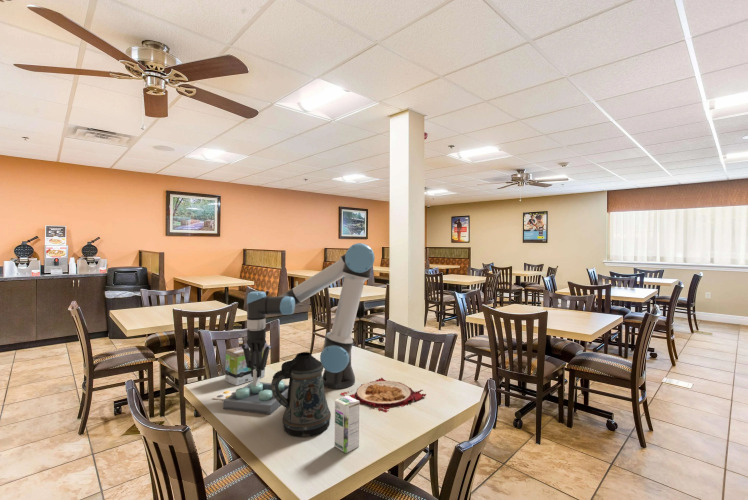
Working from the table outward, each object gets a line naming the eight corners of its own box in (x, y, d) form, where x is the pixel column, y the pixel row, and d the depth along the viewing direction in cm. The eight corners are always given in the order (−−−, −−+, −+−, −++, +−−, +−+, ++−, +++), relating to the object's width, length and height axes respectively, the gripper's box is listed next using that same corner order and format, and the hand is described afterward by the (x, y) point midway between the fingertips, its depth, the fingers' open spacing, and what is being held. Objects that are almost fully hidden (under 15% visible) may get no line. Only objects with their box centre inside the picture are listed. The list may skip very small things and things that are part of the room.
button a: (286, 387, 150) (286, 381, 150) (280, 391, 145) (280, 385, 145) (275, 386, 151) (275, 380, 151) (269, 390, 146) (269, 384, 146)
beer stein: (340, 421, 127) (340, 351, 127) (303, 447, 110) (302, 366, 110) (304, 410, 136) (304, 344, 135) (265, 433, 119) (265, 358, 119)
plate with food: (382, 381, 167) (381, 374, 168) (426, 397, 148) (426, 389, 148) (339, 397, 151) (339, 388, 151) (383, 417, 131) (383, 407, 131)
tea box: (237, 386, 160) (236, 353, 160) (224, 381, 166) (224, 349, 166) (265, 376, 172) (265, 346, 171) (253, 372, 178) (253, 342, 178)
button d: (251, 394, 143) (251, 388, 143) (244, 399, 138) (244, 393, 138) (240, 393, 144) (240, 387, 144) (233, 398, 139) (233, 391, 139)
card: (241, 393, 152) (241, 391, 152) (230, 400, 144) (230, 399, 144) (225, 391, 154) (225, 389, 154) (212, 398, 146) (212, 397, 146)
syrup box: (333, 446, 111) (333, 399, 111) (348, 439, 115) (348, 394, 115) (345, 454, 107) (345, 405, 107) (360, 446, 111) (360, 399, 111)
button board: (294, 393, 152) (294, 385, 152) (270, 414, 132) (270, 405, 132) (252, 389, 157) (252, 381, 157) (223, 408, 137) (223, 400, 137)
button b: (274, 396, 140) (274, 390, 140) (268, 402, 135) (268, 395, 135) (263, 395, 142) (263, 389, 141) (256, 400, 137) (256, 394, 137)
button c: (265, 389, 152) (265, 383, 152) (258, 394, 148) (258, 388, 148) (254, 388, 154) (254, 382, 154) (247, 393, 149) (247, 386, 149)
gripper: (275, 327, 153) (274, 382, 153) (247, 325, 156) (247, 380, 156) (265, 331, 145) (265, 389, 145) (237, 329, 148) (237, 386, 148)
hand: (256, 384), depth 151 cm, fingers closed
